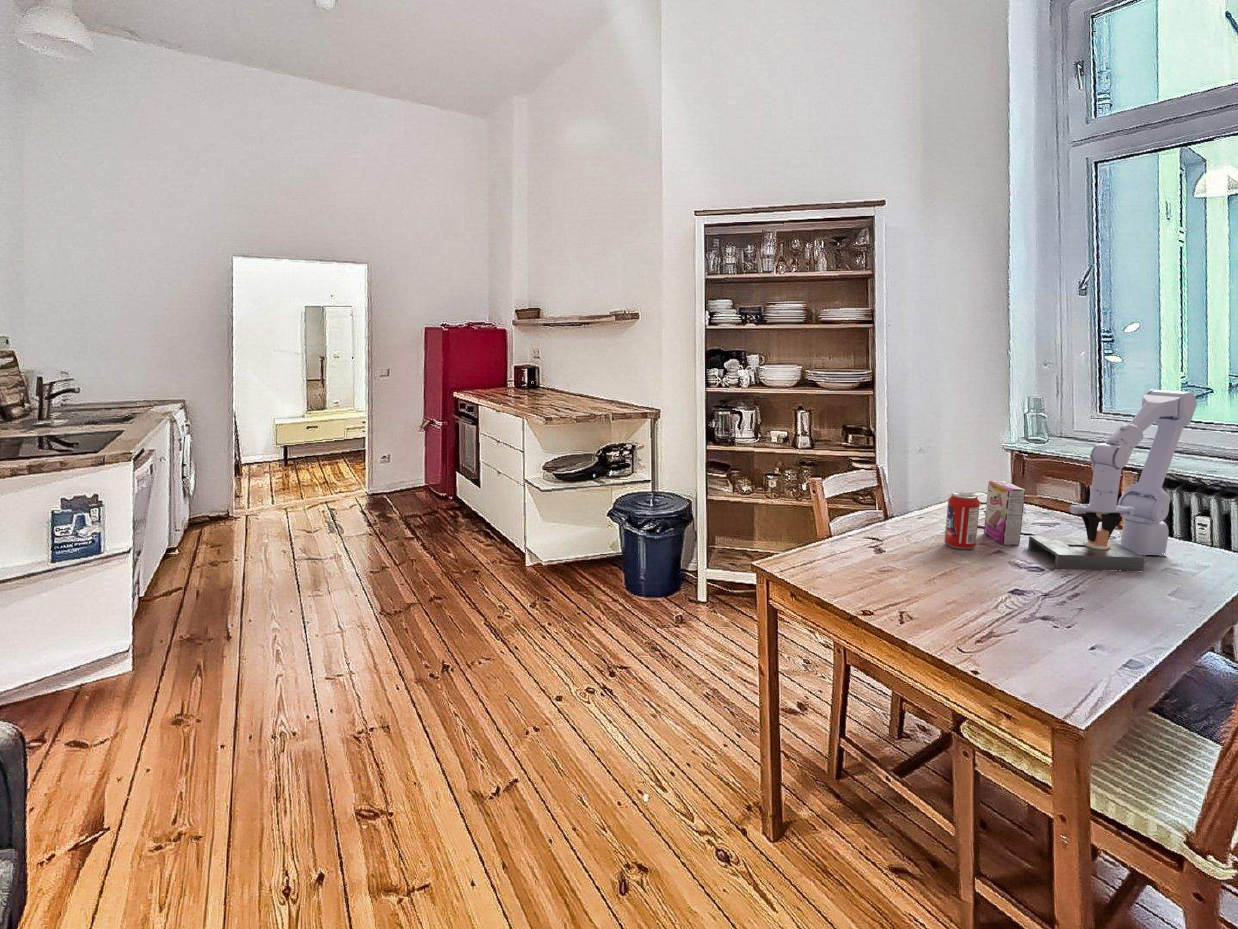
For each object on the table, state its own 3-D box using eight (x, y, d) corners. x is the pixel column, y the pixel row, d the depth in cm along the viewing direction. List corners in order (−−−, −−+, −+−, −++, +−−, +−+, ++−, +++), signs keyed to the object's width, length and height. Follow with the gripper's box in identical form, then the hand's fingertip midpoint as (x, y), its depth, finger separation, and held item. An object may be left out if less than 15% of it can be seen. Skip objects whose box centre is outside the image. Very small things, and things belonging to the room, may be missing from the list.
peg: (1100, 552, 178) (1104, 526, 177) (1112, 559, 173) (1116, 532, 172) (1079, 551, 179) (1082, 525, 178) (1090, 558, 174) (1094, 531, 172)
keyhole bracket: (1106, 551, 183) (1108, 538, 183) (1142, 572, 168) (1145, 557, 167) (1028, 548, 186) (1029, 535, 185) (1056, 568, 170) (1058, 554, 170)
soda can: (972, 552, 183) (977, 499, 180) (941, 547, 188) (946, 495, 185) (977, 545, 189) (982, 493, 186) (947, 540, 194) (951, 490, 191)
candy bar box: (982, 533, 200) (987, 480, 197) (998, 533, 200) (1004, 480, 196) (1002, 545, 189) (1008, 489, 186) (1020, 545, 189) (1026, 489, 185)
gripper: (1125, 487, 176) (1118, 536, 178) (1066, 486, 177) (1059, 535, 180) (1142, 493, 169) (1134, 545, 172) (1081, 492, 171) (1074, 543, 173)
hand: (1097, 540), depth 175 cm, fingers closed on peg, 3 cm apart
